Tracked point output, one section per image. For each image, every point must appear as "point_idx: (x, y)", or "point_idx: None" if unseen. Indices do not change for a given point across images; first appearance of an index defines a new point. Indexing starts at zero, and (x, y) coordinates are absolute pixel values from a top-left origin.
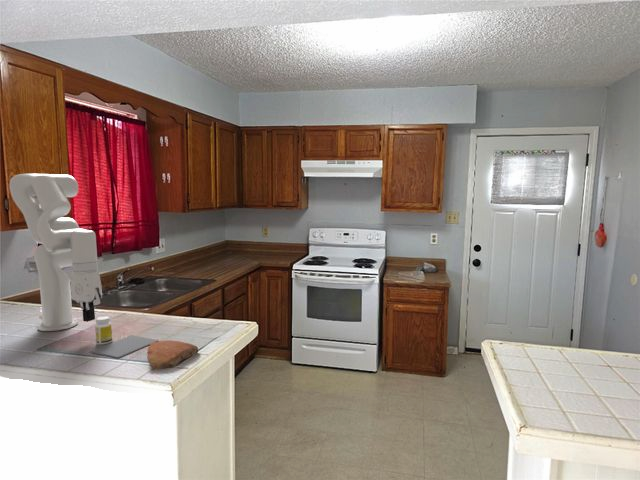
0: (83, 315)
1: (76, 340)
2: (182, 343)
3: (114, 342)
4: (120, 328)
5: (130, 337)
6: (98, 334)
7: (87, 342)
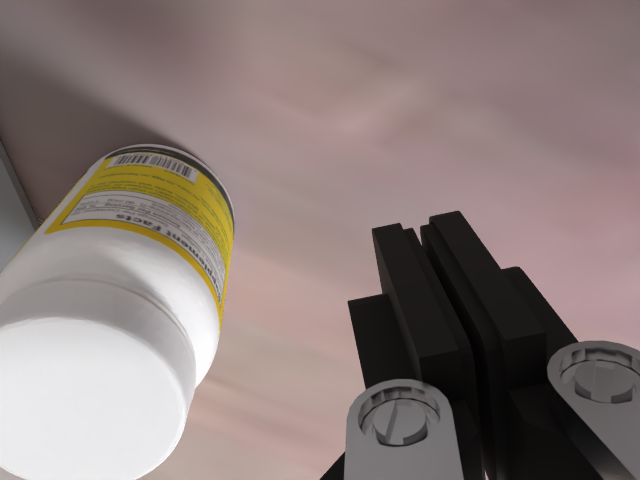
0: (476, 263)
1: (494, 60)
2: None
3: None
4: None
5: None
6: (79, 193)
7: (311, 106)
